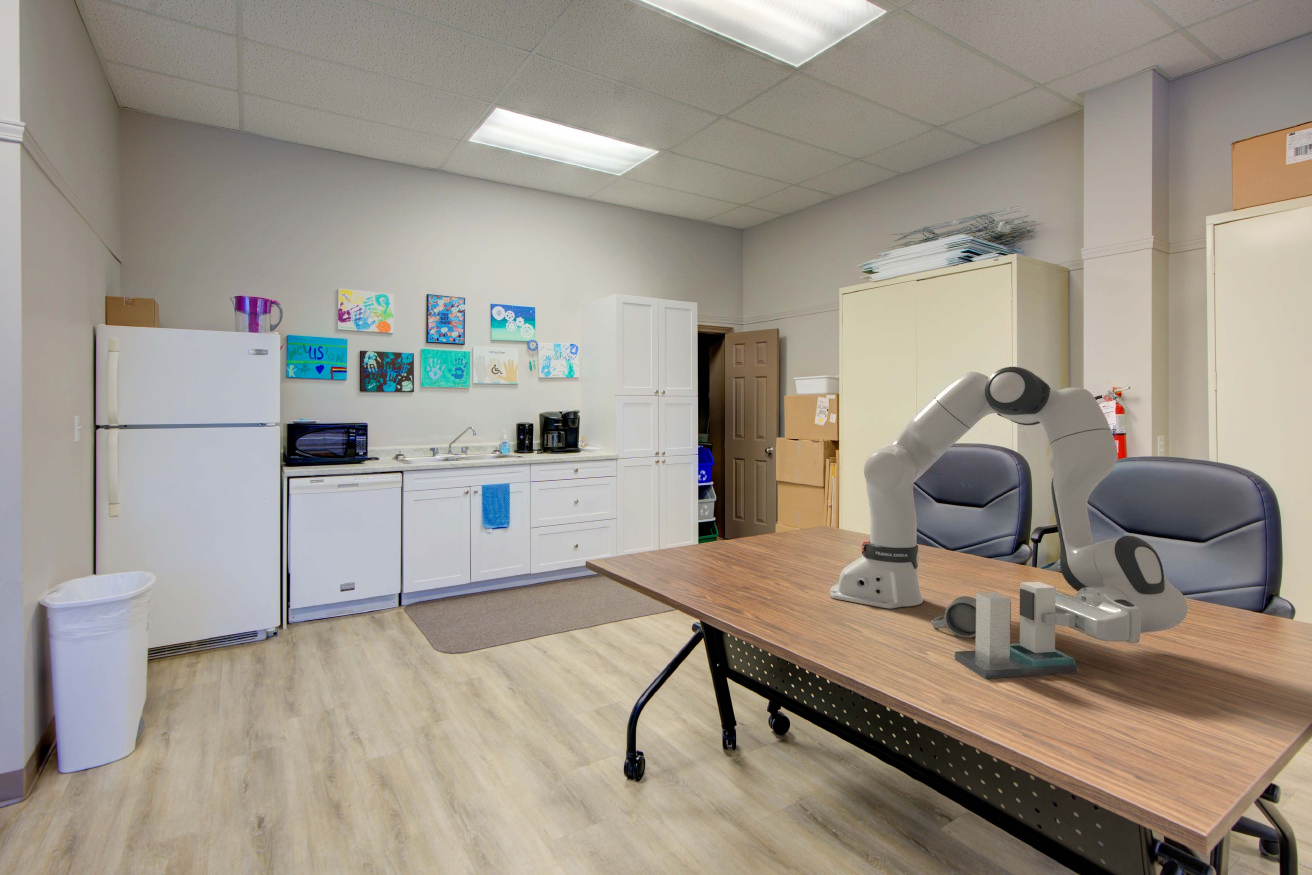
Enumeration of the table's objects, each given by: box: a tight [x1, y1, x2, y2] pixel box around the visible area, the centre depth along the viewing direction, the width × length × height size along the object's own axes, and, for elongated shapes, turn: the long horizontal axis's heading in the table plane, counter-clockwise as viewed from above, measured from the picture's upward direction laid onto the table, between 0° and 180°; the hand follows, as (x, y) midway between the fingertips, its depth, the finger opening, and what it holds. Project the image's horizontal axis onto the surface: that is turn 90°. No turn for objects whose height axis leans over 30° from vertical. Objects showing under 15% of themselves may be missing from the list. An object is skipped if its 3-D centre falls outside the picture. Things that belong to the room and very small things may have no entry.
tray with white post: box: [954, 591, 1078, 680], centre depth 116 cm, size 18×9×14 cm, turn 98°
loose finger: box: [1019, 581, 1057, 653], centre depth 116 cm, size 4×4×12 cm
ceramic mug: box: [931, 595, 976, 639], centre depth 135 cm, size 11×8×8 cm
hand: (1033, 614), depth 116 cm, fingers closed on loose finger, 4 cm apart
